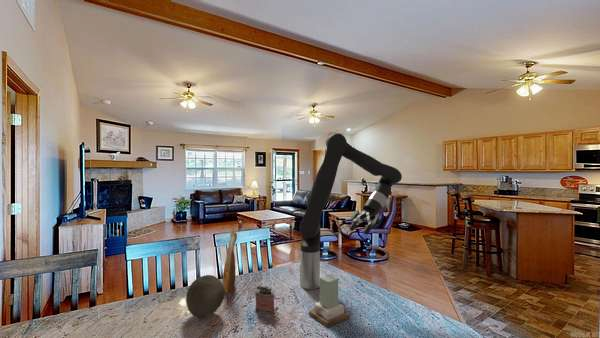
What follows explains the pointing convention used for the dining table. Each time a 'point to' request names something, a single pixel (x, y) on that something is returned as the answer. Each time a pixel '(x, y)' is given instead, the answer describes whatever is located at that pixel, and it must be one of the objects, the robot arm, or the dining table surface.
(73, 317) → the dining table surface
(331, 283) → the green post
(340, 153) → the robot arm
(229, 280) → the pancake mix bag
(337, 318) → the build base
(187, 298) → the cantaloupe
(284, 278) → the dining table surface
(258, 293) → the lighter
